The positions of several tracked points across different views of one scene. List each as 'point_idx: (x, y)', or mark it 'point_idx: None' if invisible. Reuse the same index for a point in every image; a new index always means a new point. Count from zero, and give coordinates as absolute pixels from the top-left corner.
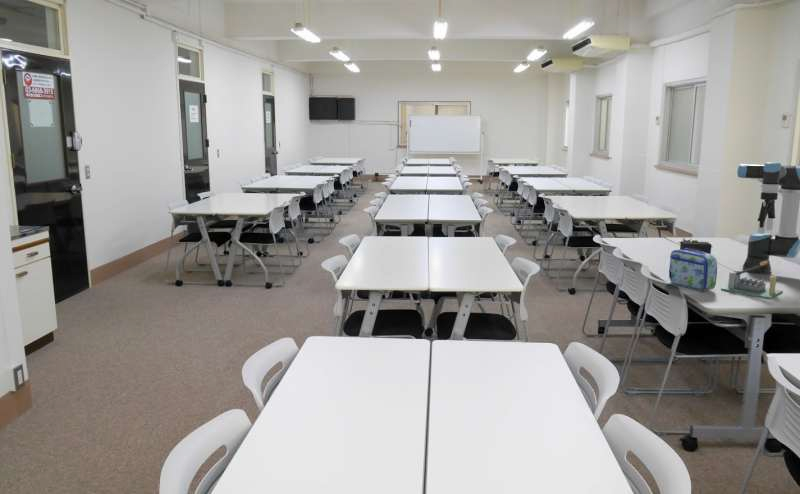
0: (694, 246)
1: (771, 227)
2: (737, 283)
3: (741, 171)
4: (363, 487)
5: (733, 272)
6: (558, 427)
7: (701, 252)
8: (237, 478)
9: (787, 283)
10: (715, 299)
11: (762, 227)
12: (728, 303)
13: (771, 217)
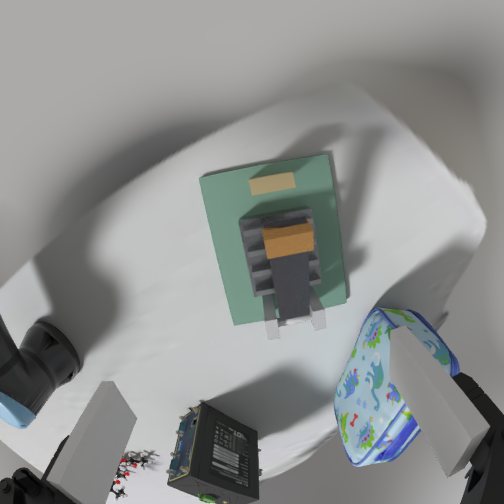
0: (235, 485)
1: (102, 407)
2: (321, 280)
3: None
4: None
5: (317, 320)
6: None
7: None
8: None
9: (82, 236)
10: (439, 250)
11: (462, 373)
12: (449, 210)
13: (58, 501)
